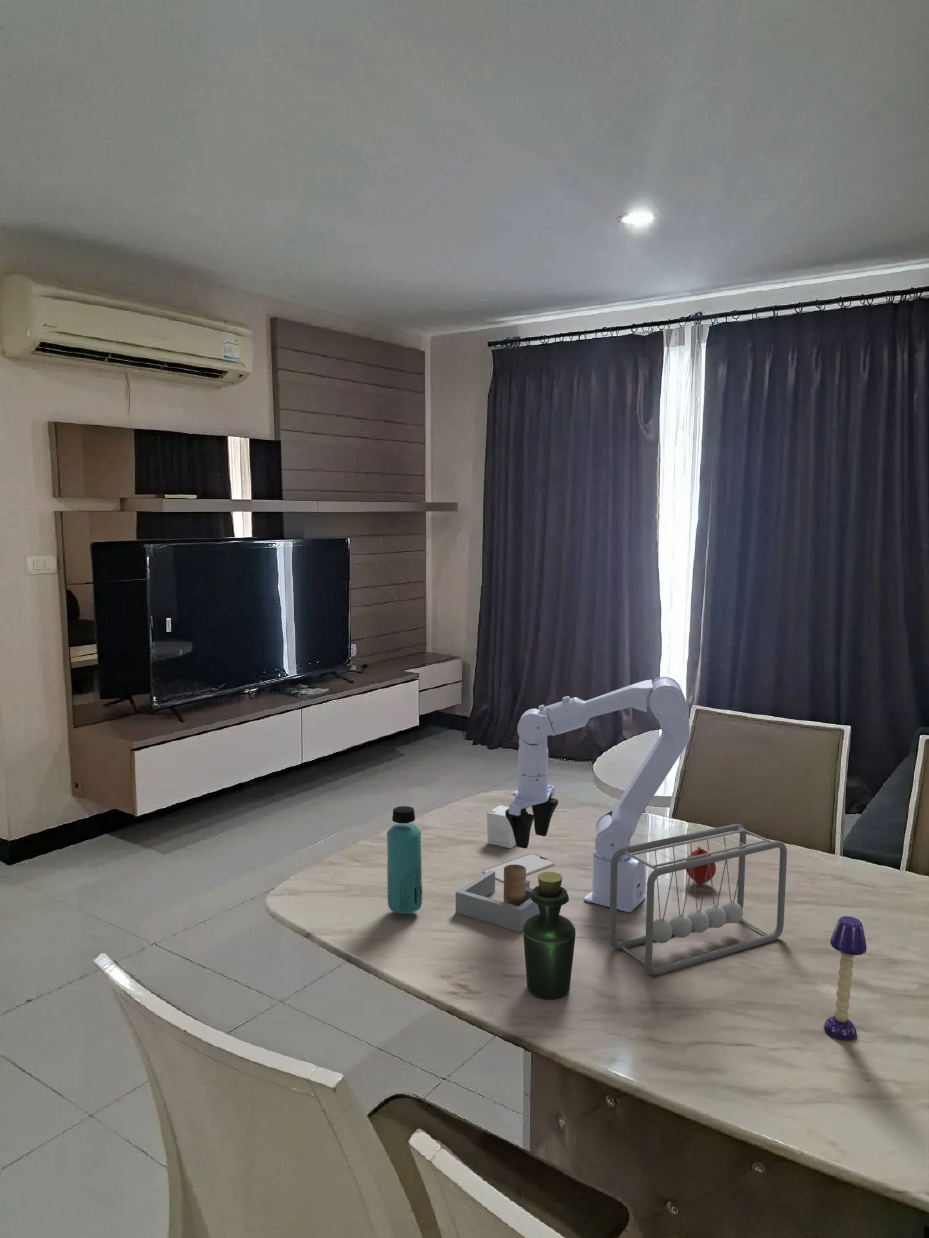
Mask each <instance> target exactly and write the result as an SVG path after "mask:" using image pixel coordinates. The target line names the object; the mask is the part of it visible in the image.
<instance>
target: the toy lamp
mask: <svg viewBox="0 0 929 1238" xmlns="http://www.w3.org/2000/svg"><path fill="white" fill-rule="evenodd" d="M829 942H830V946H831V947H832V948H833V949H834V950H836V951H837V952H840V956H841V957H840V958H839V969H838V979H837V989H836V997H837V998H836V1001H835V1010H834V1015H832V1016H829V1017H828V1018H827V1019H826V1021H825V1022H824V1025H823V1029H824V1031H825V1032H826V1034H829V1035H830V1036H831V1037H834V1038H835V1039H838V1040H842V1041H851V1040H854V1039H856V1037H857V1028H856V1025H854V1023H853V1022H852V1021H851V1020H850V1019H849V1011H848V1010H849V1008H850V1001H849V1000H850V999H851V989H852V978H853V971H852V970H853V968H854V960H853V959H854V958H855V956H862V955H864V954H866V952H867V950H868V949H867V942H866V936H865V930H864V925H863V922H862V921H861V920H860V919H859V918H856V917H854V916H850V915H849V916H848V915H843V916H840V917H839V918H838V920H837V923H836V925H835V927H834V929H833V932H832V935H831V938H830V940H829Z"/></svg>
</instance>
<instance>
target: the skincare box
mask: <svg viewBox="0 0 929 1238" xmlns="http://www.w3.org/2000/svg"><path fill="white" fill-rule="evenodd" d="M507 809H509V806H505V805H498V806H496V807H495V808H493V809H491V810H489V811H487V813H486V815H487V818H486V822H487V824H486V825H487V844H488V845H493V846H497V845H498V847H502V848H506V849H512V848H513V847H515V846H516V842H515V838H514V834H513V830H512V827H511V825H510V822H509V821H508V819H507V817H506V816H505V811H506V810H507Z"/></svg>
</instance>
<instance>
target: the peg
mask: <svg viewBox="0 0 929 1238" xmlns="http://www.w3.org/2000/svg"><path fill="white" fill-rule="evenodd" d="M526 880H527V876H526V868H525V867H524V866H521V865H507V866H505V867H504V882H503V902H505V903H508V904H512V905H515V906H520V905H521V904H523V903H524V902H525V901H526Z"/></svg>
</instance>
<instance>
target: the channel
mask: <svg viewBox="0 0 929 1238" xmlns="http://www.w3.org/2000/svg"><path fill="white" fill-rule="evenodd" d="M530 881H531V880H529V879H526V901H525V902H524V903H523V904H521V905H520V906H515V905H512V904H508V903H505V902H504V901H501V900H497V899H495V898H491V897H488V896H490V895H492V894H493V893H494V892H496V879H495V871H491V870H489V871H488V872H486V873H485V874H484V873H482V874H481V875H480V876H478V877H477V878H475V879H473V880H472V881H471V882H468V884H466V885H464V886H463V887H461V888H460V889H458V890H456V891H455V913H456V914H458V915H463V916H466V917H469V918H472V919H475V920H479V921H481V922H485V923H488V924H492V925H496V926H499V927H501V928H506V929H507V930H512V931H514V932H518V933H523V926H524V924H525V923H526V921H527V920H528V919H529V918H530V917H533V916H535V915H538V914H540V912H539V908H538V904H536V903H534V902H533V901H532V900H531V894H532V891H533V889H534V888H530V886H531V885H530V883H531V882H530Z"/></svg>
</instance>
